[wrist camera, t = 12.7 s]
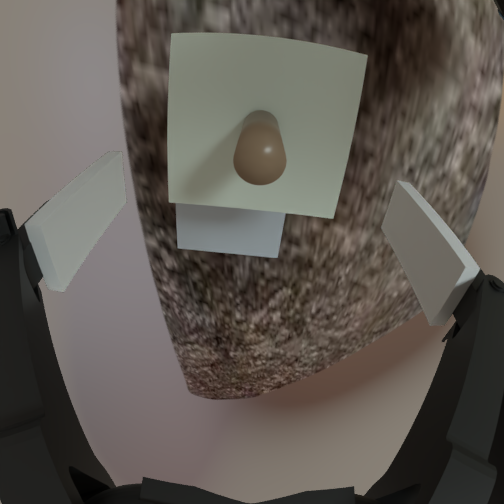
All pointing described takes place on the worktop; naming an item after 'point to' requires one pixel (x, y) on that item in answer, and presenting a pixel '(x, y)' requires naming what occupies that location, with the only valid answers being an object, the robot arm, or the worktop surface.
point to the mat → (229, 230)
